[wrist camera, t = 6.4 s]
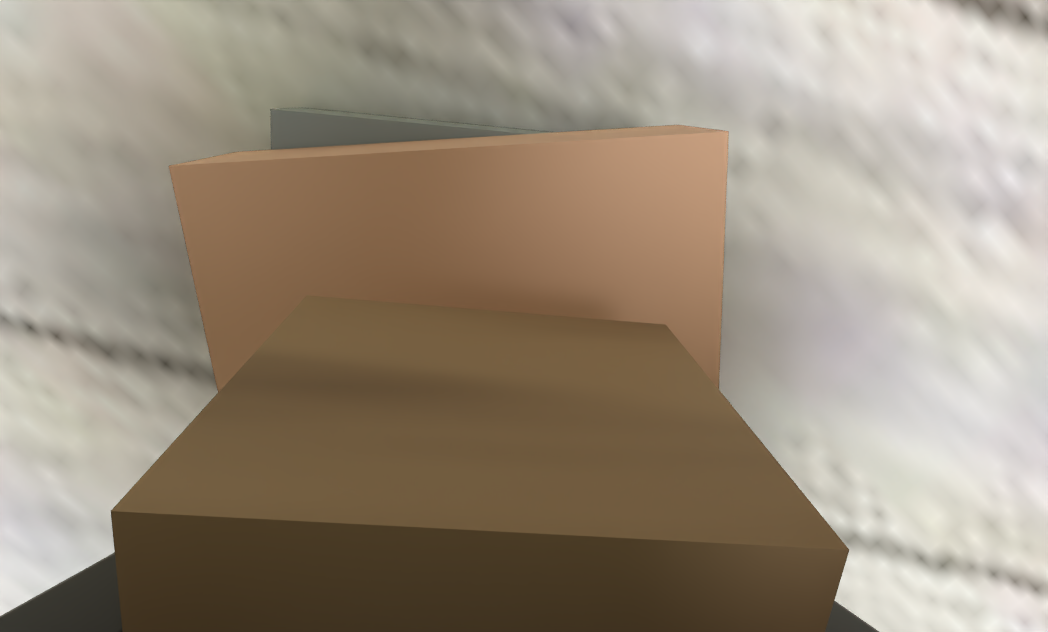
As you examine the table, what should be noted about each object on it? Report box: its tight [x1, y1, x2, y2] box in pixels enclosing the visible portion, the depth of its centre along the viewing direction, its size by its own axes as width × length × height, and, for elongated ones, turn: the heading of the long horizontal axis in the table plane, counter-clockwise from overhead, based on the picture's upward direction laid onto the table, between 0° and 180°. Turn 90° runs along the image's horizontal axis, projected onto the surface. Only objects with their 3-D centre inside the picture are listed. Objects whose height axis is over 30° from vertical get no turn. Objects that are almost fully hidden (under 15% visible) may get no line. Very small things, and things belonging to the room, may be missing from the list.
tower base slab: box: [270, 108, 553, 150], centre depth 16 cm, size 9×9×3 cm
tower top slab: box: [169, 125, 729, 392], centre depth 14 cm, size 9×9×3 cm
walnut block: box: [111, 295, 849, 632], centre depth 8 cm, size 5×5×5 cm
